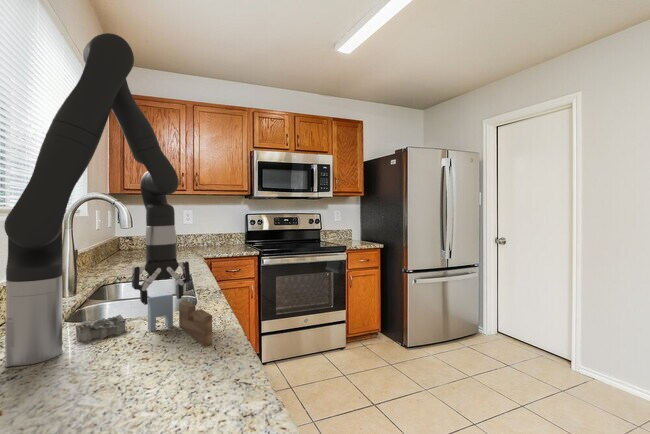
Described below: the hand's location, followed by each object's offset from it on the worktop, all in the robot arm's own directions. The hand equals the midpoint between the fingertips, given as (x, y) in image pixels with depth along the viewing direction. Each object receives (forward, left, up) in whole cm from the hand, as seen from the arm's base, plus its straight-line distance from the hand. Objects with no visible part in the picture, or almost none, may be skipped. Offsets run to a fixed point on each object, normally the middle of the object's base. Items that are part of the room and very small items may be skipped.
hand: (162, 301), depth 92 cm
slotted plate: (+5, -12, -7) cm, 14 cm away
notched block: (0, 0, -7) cm, 7 cm away
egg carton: (-14, +6, -8) cm, 17 cm away
